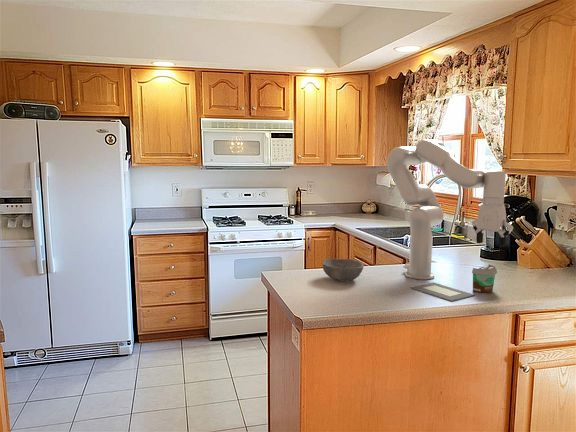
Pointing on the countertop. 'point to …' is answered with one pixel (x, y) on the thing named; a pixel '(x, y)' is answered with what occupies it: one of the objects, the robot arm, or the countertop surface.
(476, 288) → the food container
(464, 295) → the mat
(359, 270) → the bowl
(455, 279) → the countertop surface
